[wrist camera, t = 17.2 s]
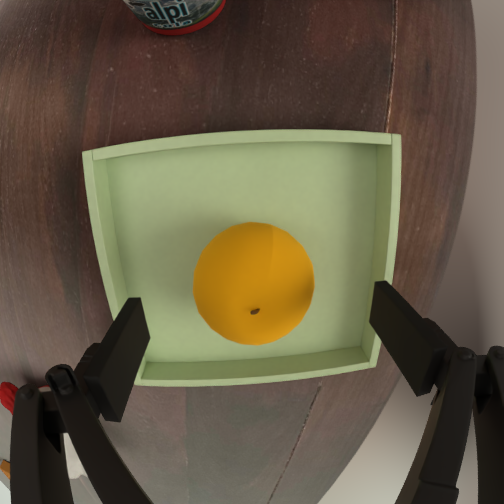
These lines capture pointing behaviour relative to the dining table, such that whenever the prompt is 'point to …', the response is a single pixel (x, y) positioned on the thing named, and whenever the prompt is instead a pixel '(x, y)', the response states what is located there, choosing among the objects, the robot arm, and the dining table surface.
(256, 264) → the orange
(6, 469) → the wooden board
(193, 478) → the dining table surface
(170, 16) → the beverage can
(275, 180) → the fruit tray
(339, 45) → the dining table surface
